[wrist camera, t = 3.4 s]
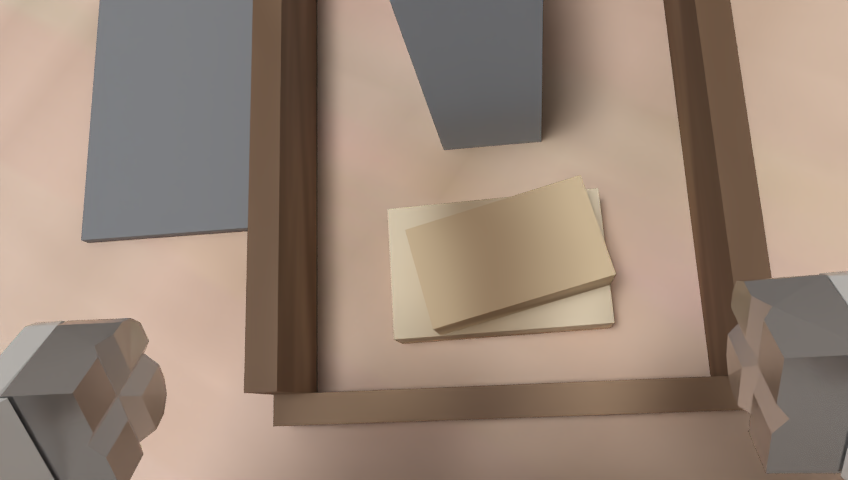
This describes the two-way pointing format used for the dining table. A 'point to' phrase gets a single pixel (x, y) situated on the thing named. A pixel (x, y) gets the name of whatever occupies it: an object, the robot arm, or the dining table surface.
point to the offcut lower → (546, 318)
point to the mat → (169, 120)
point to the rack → (301, 404)
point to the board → (477, 67)
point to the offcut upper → (510, 256)
